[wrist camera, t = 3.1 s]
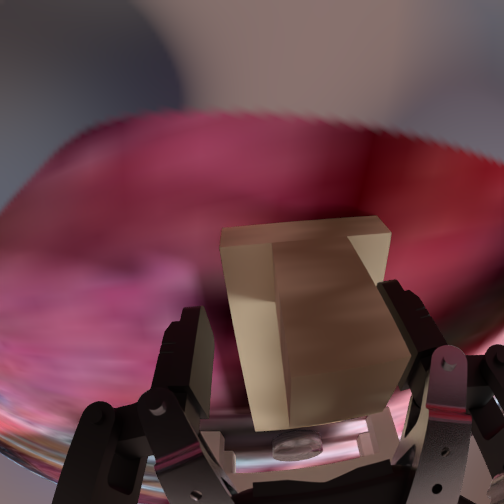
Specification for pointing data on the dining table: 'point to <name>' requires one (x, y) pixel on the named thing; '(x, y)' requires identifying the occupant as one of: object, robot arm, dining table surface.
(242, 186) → the dining table surface
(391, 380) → the stepped wooden block
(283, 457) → the puck
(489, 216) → the dining table surface
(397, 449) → the robot arm
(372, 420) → the notched block
